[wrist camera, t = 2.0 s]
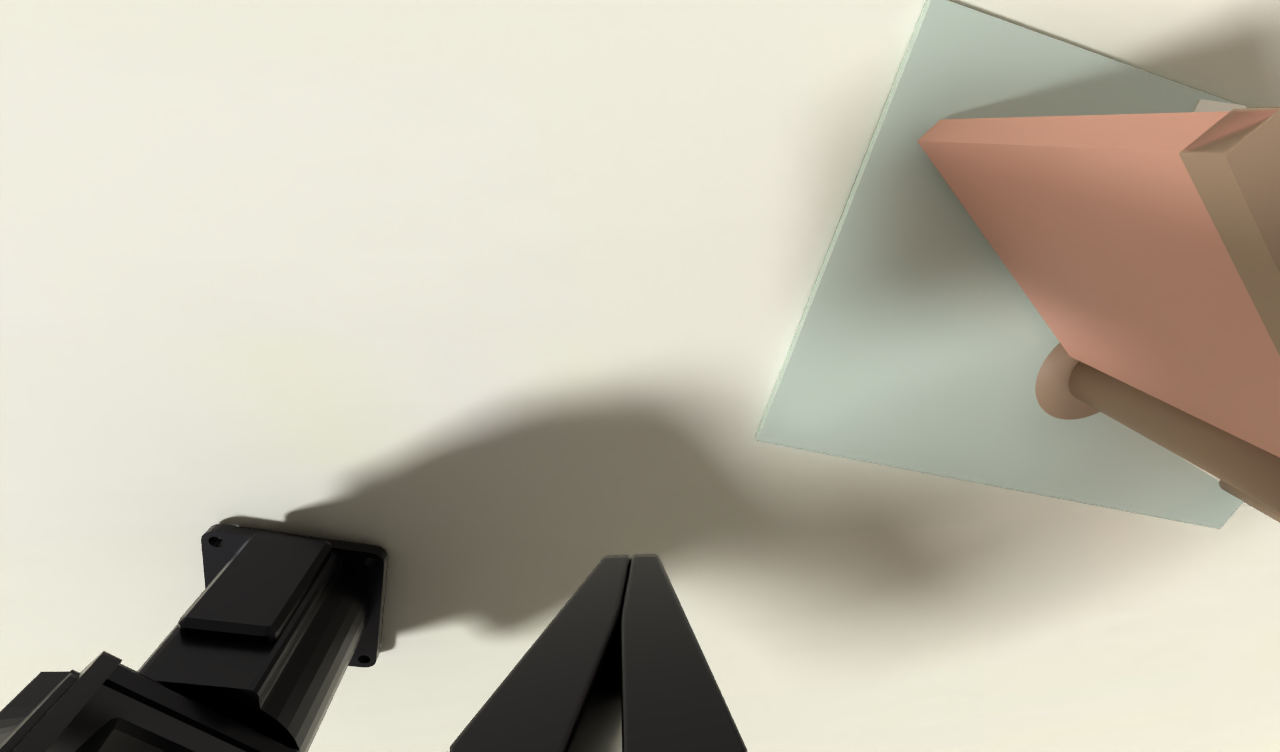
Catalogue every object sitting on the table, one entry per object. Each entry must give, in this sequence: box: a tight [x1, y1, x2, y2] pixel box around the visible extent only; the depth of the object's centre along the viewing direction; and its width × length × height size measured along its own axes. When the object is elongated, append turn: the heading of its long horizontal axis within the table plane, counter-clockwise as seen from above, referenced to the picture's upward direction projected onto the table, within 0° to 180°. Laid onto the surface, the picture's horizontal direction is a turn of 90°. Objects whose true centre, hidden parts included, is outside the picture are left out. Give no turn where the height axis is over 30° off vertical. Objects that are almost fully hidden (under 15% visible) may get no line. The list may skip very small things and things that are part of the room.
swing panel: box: [917, 107, 1280, 513], centre depth 14 cm, size 13×2×9 cm, turn 46°
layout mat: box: [755, 0, 1247, 529], centre depth 19 cm, size 14×22×1 cm, turn 76°
